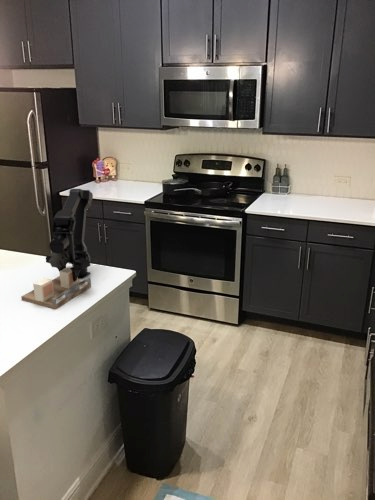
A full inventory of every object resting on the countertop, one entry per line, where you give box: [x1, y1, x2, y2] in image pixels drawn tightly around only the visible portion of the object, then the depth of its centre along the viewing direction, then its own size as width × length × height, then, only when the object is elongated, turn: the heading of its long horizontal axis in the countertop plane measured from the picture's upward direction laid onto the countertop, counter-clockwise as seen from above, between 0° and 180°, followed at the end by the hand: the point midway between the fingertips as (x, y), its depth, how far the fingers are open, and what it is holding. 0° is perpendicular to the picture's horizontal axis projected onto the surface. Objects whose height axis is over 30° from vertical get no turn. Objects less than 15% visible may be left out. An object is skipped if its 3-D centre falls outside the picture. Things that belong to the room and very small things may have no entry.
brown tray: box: [21, 275, 92, 310], centre depth 176 cm, size 22×17×4 cm
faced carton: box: [32, 277, 54, 302], centre depth 168 cm, size 4×6×7 cm
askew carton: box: [59, 265, 79, 289], centre depth 180 cm, size 4×6×7 cm
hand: (69, 279), depth 180 cm, fingers open, 5 cm apart
